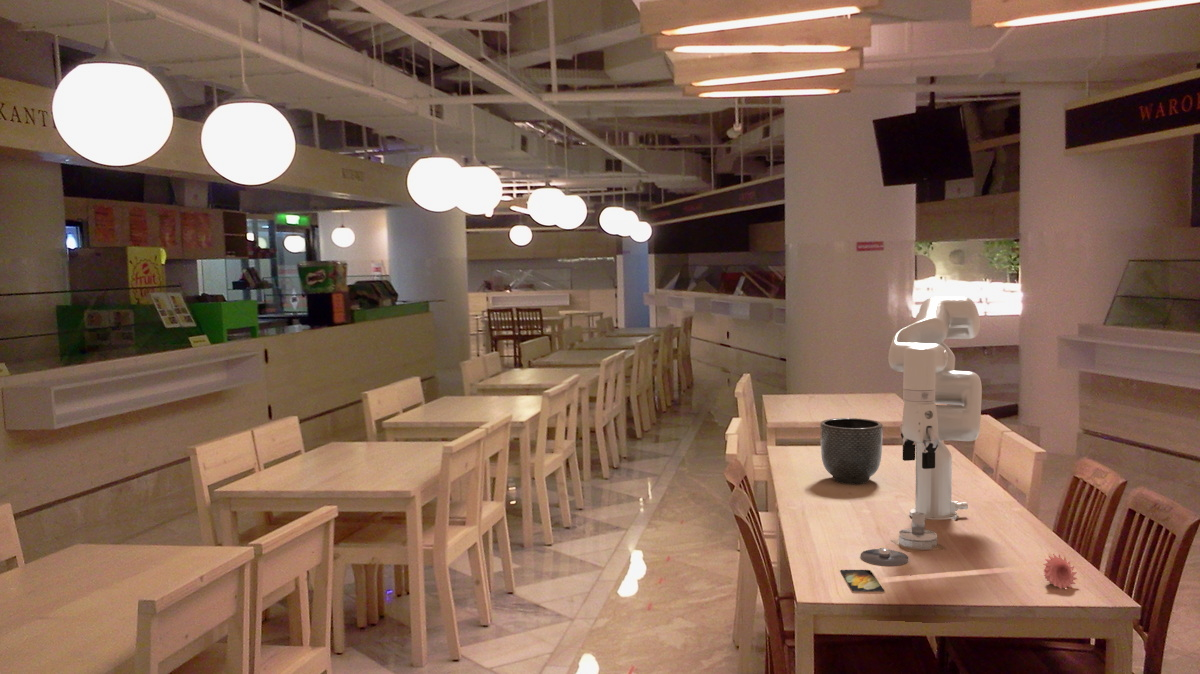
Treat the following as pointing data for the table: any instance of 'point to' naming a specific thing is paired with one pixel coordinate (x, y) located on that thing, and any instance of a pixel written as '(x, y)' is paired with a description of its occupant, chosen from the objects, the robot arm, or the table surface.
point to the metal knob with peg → (918, 535)
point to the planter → (851, 448)
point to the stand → (917, 550)
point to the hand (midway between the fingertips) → (918, 464)
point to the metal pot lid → (884, 557)
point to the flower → (1059, 572)
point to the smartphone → (862, 581)
